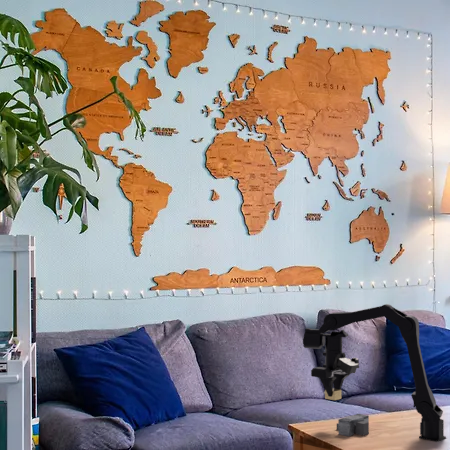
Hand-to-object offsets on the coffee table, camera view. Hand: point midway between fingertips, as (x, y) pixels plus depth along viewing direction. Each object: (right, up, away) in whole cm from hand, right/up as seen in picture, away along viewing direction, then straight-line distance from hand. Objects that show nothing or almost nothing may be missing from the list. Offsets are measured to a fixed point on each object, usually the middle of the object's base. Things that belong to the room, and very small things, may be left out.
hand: (333, 395), depth 248 cm
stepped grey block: (+5, -11, -5) cm, 13 cm away
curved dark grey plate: (+6, -11, -6) cm, 14 cm away
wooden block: (0, -1, 0) cm, 1 cm away
